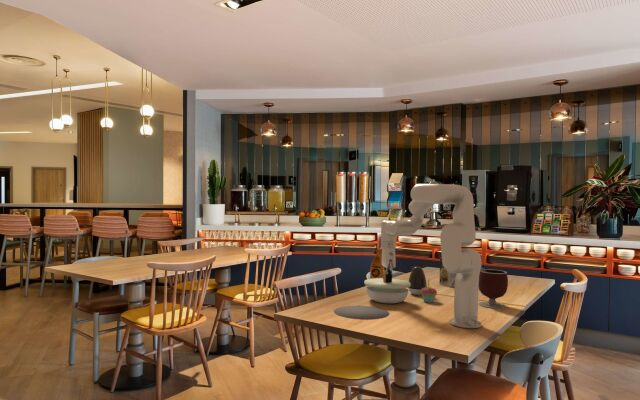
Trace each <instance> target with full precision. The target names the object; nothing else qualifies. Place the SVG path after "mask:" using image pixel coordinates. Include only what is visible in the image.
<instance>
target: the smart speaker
mask: <svg viewBox="0 0 640 400" xmlns="http://www.w3.org/2000/svg"><path fill="white" fill-rule="evenodd" d="M411 269H412V270H411V272H410V274H409V278H408V280H407V281H408V282H410V283H411V285H410V287H408V288H407V289H408V292H409V293H410V294H412V295H414V296H422V294H420V290H421V289H422V288H425V287H428V282H427V278H426V275H425V272H424V269H423V268H422V267H420V266H411Z"/></svg>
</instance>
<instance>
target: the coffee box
mask: <svg viewBox="0 0 640 400" xmlns="http://www.w3.org/2000/svg"><path fill="white" fill-rule="evenodd" d="M456 275H457V273H449V272H448V271H447V270H446V269H445V268H444V266H443V262H442V257H440V258H439V283H438V284H439V285H442V286H445V287H447V288H455V278H456Z"/></svg>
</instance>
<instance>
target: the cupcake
mask: <svg viewBox="0 0 640 400" xmlns="http://www.w3.org/2000/svg"><path fill="white" fill-rule="evenodd" d="M420 294H422V295H421V296H422V299H423V302H425V303H434V300H435V298H436V296H438V291H437V290H436V289H435V288H433V287H430V278H428V279H427V287H425V288H422V289H421V290H420Z"/></svg>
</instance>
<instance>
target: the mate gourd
mask: <svg viewBox="0 0 640 400" xmlns="http://www.w3.org/2000/svg"><path fill="white" fill-rule="evenodd" d="M508 286H509V279H508V272H507V271H505V270H500V269H488V268H487V269H485V268H484V267H482V266H481V269H480V274H479V288H478V291H479V292H480V293H481V295H483V296H485V297H486V298H489V300H488V301H480V302H478V306H480V307H483V308H486V309H494V310H496V309H497V310H500V309H502V308H503V309H506V304H504V303H501V302H497V300H496V299H498V298H502V297H504V296H505V294H506V293H507V290H508ZM503 309H502V310H503Z"/></svg>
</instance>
